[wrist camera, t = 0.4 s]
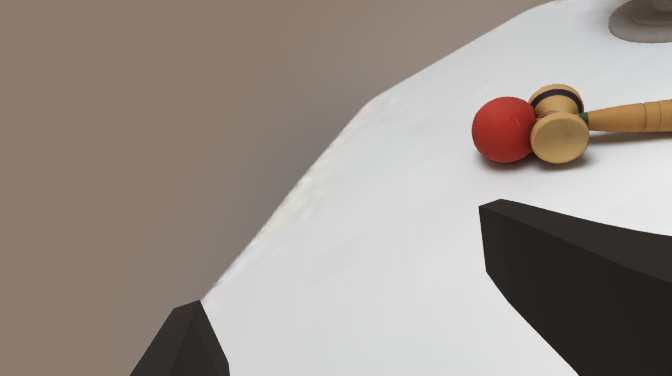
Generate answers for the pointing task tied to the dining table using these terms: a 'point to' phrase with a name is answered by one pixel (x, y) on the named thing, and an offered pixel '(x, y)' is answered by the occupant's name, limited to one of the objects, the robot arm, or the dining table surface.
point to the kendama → (557, 124)
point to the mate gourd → (643, 21)
